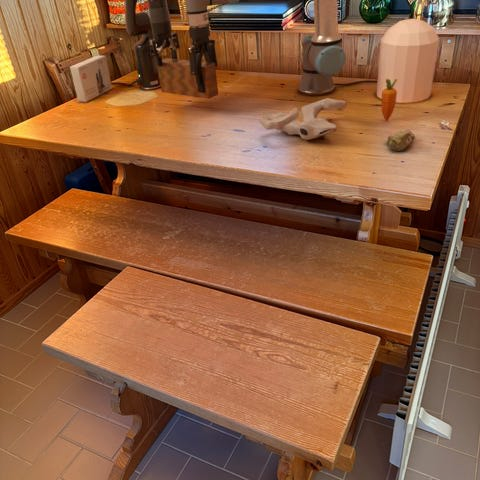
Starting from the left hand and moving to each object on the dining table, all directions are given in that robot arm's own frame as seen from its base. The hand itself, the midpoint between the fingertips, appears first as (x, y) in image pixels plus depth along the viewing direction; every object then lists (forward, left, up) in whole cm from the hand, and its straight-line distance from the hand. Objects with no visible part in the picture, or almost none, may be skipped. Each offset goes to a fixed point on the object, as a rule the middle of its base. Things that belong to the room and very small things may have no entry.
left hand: (167, 63), depth 185 cm
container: (+79, +51, -19) cm, 96 cm away
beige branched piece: (+66, -3, -19) cm, 69 cm away
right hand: (+19, 0, -8) cm, 21 cm away
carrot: (+84, +21, -19) cm, 89 cm away
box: (+9, 0, -11) cm, 14 cm away
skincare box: (-51, 0, -19) cm, 55 cm away
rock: (+96, +2, -19) cm, 98 cm away
